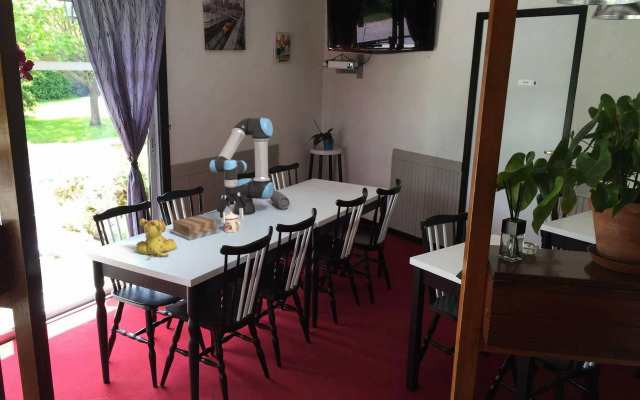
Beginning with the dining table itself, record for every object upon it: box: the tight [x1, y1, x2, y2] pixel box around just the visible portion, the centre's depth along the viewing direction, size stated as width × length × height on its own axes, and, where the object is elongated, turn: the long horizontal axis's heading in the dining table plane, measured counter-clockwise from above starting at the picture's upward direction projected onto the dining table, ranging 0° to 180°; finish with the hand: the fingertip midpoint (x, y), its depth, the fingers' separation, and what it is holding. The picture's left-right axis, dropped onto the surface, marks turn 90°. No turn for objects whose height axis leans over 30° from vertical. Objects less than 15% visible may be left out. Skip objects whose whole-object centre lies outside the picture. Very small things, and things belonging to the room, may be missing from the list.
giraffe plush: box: [135, 218, 178, 261], centre depth 278 cm, size 20×24×19 cm
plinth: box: [169, 214, 220, 242], centre depth 313 cm, size 21×21×8 cm
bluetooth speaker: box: [269, 190, 291, 210], centre depth 373 cm, size 23×9×10 cm, turn 22°
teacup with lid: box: [223, 211, 241, 234], centre depth 315 cm, size 12×9×12 cm
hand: (232, 220), depth 315 cm, fingers open, 13 cm apart
